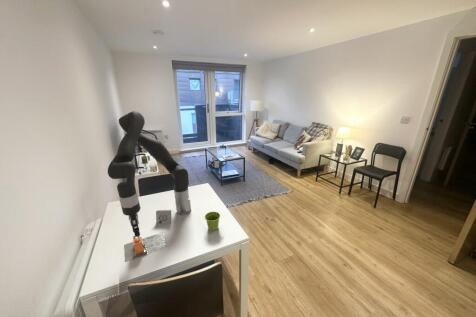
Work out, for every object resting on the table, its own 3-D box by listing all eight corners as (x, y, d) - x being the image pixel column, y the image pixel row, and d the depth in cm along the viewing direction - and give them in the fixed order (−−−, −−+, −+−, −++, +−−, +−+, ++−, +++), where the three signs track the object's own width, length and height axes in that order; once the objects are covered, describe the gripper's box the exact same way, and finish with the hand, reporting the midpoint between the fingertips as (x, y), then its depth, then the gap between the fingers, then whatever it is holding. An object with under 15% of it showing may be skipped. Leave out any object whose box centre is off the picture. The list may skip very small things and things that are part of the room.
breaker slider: (140, 241, 110) (138, 233, 108) (141, 245, 107) (139, 237, 105) (134, 243, 108) (132, 235, 107) (135, 247, 105) (133, 239, 103)
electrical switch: (156, 225, 125) (154, 212, 122) (159, 221, 130) (157, 208, 127) (171, 225, 125) (169, 212, 122) (173, 221, 130) (172, 208, 127)
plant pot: (202, 230, 120) (201, 218, 117) (209, 221, 128) (209, 210, 125) (216, 234, 117) (215, 222, 114) (223, 224, 125) (222, 213, 122)
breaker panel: (163, 234, 117) (162, 230, 116) (167, 248, 107) (166, 244, 106) (124, 246, 108) (123, 243, 107) (125, 264, 97) (124, 260, 96)
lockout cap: (143, 247, 105) (141, 236, 103) (144, 252, 102) (141, 240, 99) (135, 250, 103) (132, 238, 101) (135, 255, 100) (133, 243, 98)
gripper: (120, 198, 96) (127, 225, 102) (121, 213, 85) (129, 242, 90) (137, 193, 100) (143, 220, 105) (140, 207, 88) (147, 236, 94)
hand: (136, 230), depth 98 cm, fingers open, 8 cm apart
